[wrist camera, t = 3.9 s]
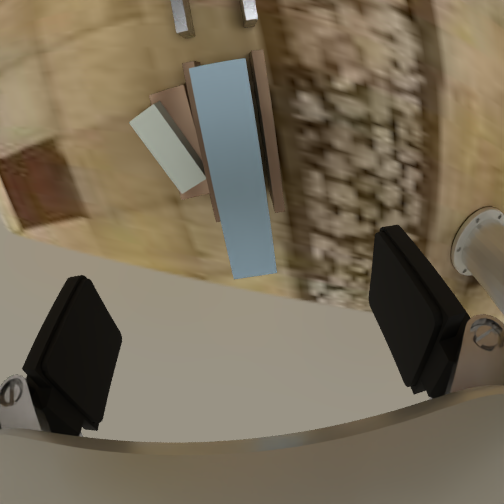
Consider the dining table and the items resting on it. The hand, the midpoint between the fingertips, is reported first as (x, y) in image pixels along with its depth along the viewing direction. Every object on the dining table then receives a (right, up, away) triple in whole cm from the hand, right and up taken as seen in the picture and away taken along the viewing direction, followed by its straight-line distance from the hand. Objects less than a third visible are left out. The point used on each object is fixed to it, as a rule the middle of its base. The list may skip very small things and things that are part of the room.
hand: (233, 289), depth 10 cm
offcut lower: (-7, +13, +22) cm, 27 cm away
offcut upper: (-7, +12, +20) cm, 25 cm away
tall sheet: (-1, +14, +21) cm, 26 cm away
